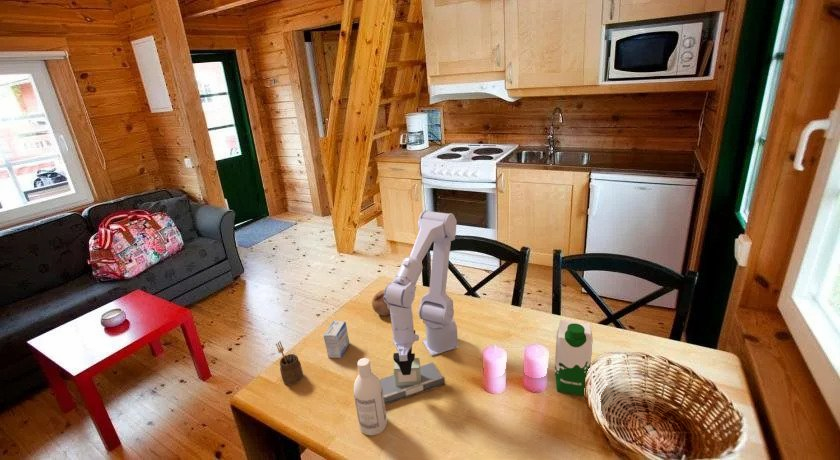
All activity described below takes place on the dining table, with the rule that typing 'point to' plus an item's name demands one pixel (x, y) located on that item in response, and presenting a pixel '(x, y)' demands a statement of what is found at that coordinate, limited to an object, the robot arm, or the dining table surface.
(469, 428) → the dining table surface
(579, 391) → the milk carton
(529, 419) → the dining table surface
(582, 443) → the dining table surface
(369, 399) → the bath foam
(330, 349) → the medicine box
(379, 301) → the onion
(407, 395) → the shelf board
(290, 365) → the utensil holder
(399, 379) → the carton
